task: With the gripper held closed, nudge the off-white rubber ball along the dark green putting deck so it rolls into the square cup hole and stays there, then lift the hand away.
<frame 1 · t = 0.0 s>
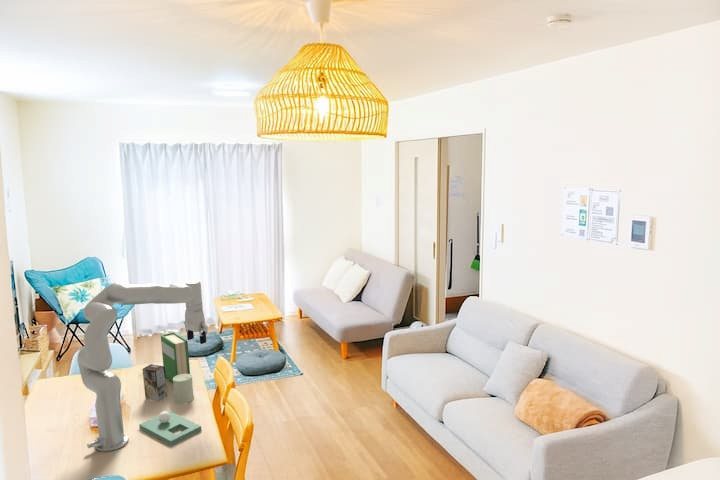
hand: (197, 341, 254), 31 cm above the table, tool pointing down, fingers open, 9 cm apart
hardback book: (177, 380, 285), on the table
coffee box: (156, 398, 265), on the table
ball: (164, 417, 236), point 4 cm above the table, touching deck
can: (184, 399, 263), on the table
deck: (170, 429, 234), on the table
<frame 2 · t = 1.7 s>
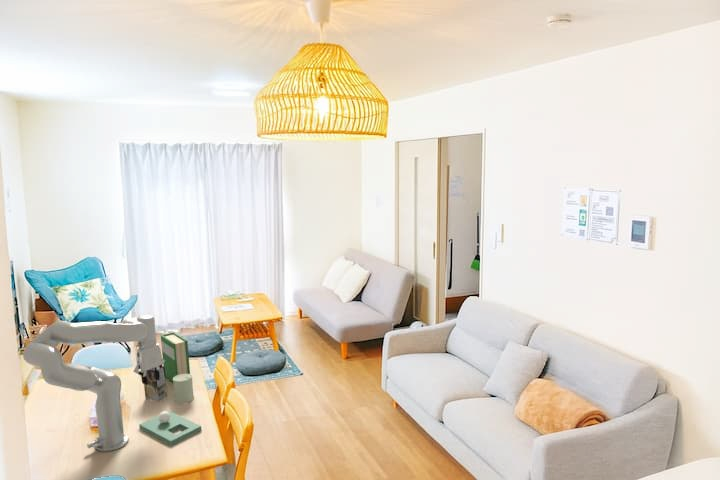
hand: (151, 381, 238), 19 cm above the table, tool pointing down, fingers open, 5 cm apart
nothing on the table moved.
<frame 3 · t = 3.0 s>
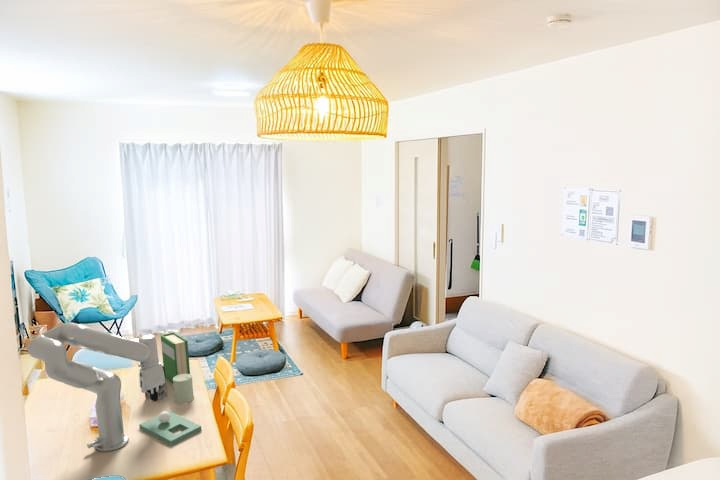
hand: (154, 400, 241), 10 cm above the table, tool pointing down, fingers closed
nothing on the table moved.
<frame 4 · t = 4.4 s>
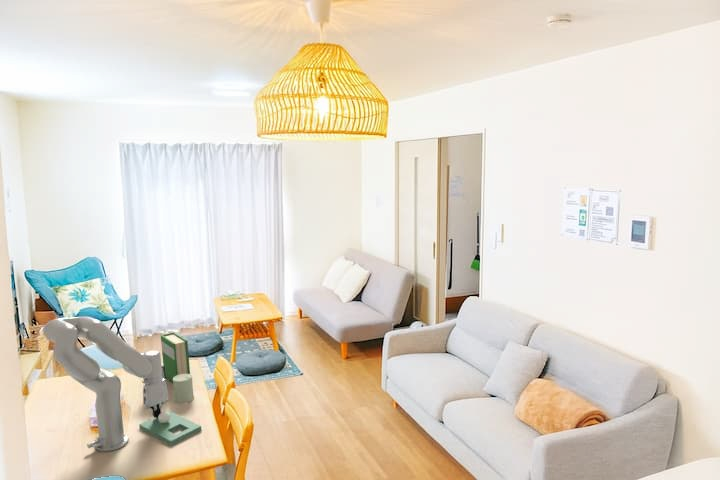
hand: (157, 417, 240), 3 cm above the table, tool pointing down, fingers closed
nothing on the table moved.
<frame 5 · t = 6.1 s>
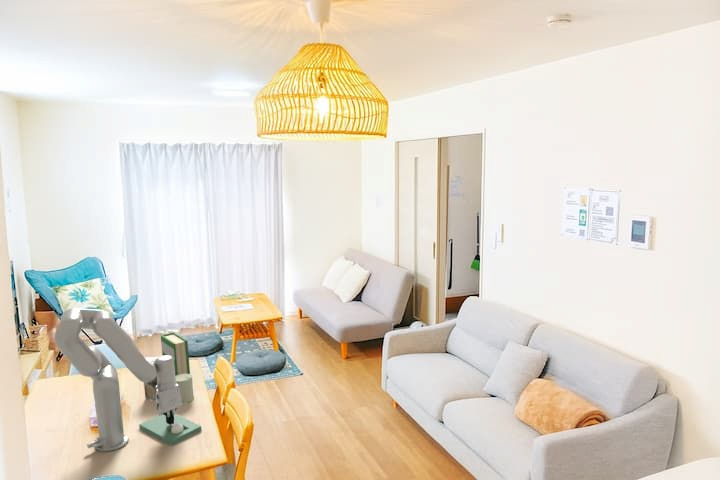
hand: (170, 423, 234), 3 cm above the table, tool pointing down, fingers closed
ball: (177, 429, 229), point 2 cm above the table, tilted 95°
everything else where it was.
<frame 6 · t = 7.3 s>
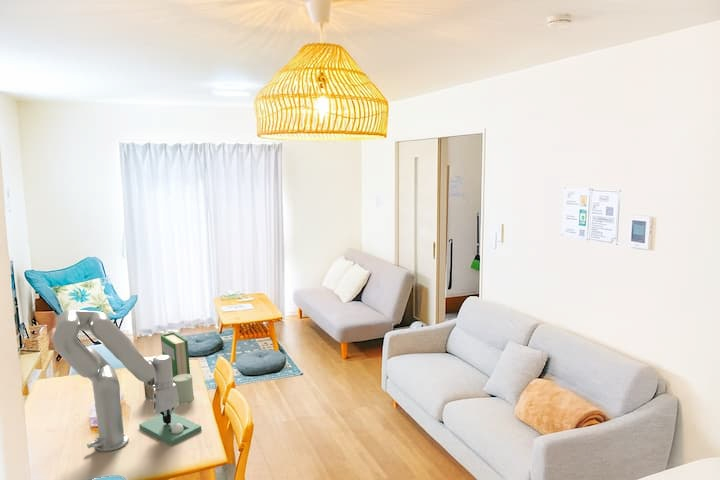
hand: (167, 422, 235), 3 cm above the table, tool pointing down, fingers closed
nothing on the table moved.
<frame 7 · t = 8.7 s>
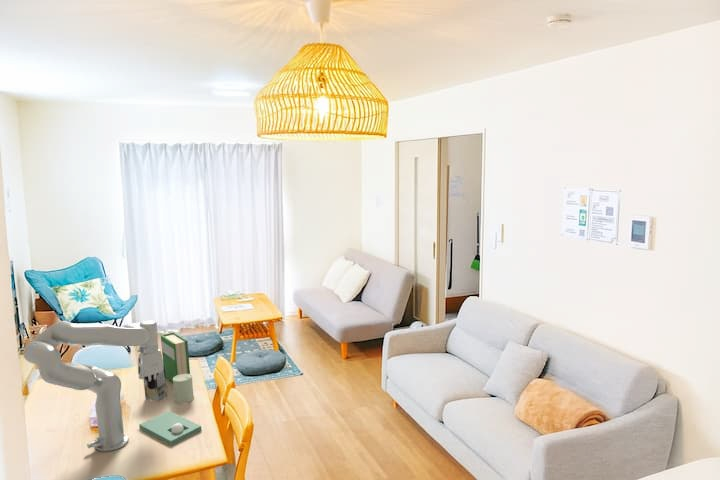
hand: (151, 388, 237), 17 cm above the table, tool pointing down, fingers closed
nothing on the table moved.
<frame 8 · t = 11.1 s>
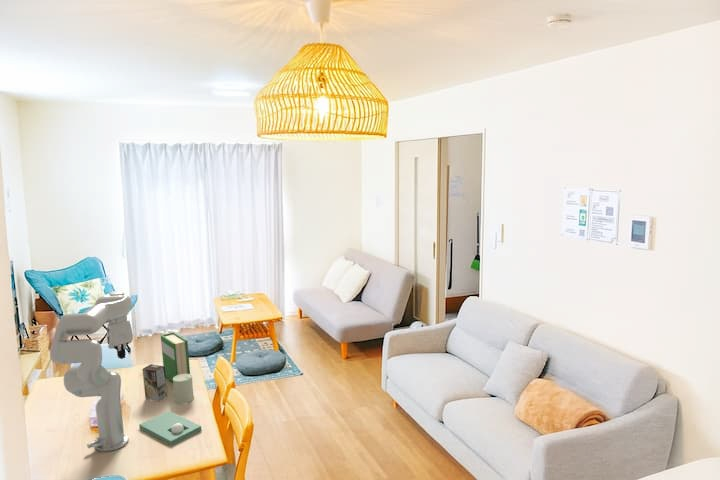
hand: (121, 357, 241), 29 cm above the table, tool pointing down, fingers closed
nothing on the table moved.
at the end: ball 0.9 cm from the target spot on the deck, point 2.5 cm above the deck's base; the gripper is holding nothing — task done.
